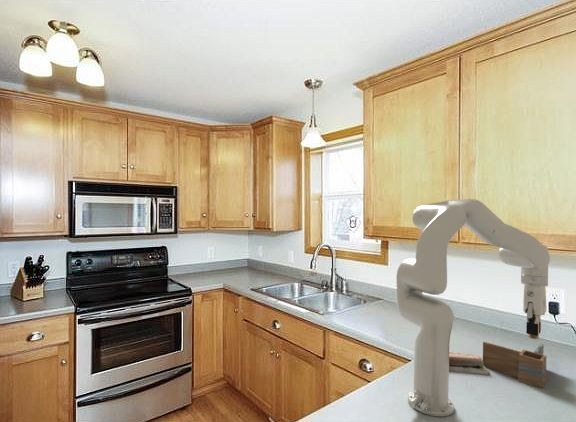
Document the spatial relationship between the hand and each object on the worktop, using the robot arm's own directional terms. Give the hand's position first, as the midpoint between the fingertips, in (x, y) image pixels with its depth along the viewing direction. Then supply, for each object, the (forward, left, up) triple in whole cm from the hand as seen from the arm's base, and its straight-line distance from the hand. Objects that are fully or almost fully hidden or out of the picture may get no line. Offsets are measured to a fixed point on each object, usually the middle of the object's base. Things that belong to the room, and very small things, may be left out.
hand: (533, 332), depth 115 cm
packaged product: (-8, +22, -17) cm, 29 cm away
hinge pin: (0, 0, -2) cm, 2 cm away
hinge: (+6, +6, -17) cm, 19 cm away
